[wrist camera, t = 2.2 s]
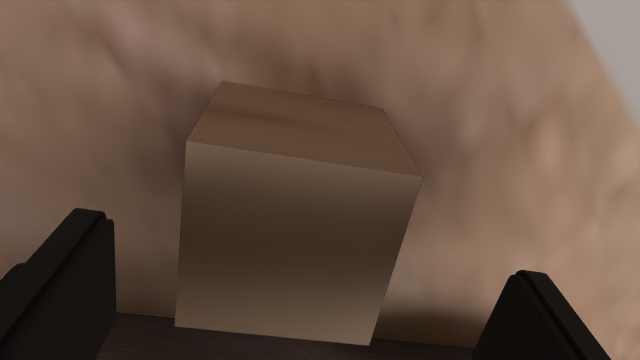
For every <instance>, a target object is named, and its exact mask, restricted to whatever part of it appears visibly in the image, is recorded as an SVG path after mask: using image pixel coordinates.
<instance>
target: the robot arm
mask: <svg viewBox="0 0 640 360" xmlns="http://www.w3.org/2000/svg"><path fill="white" fill-rule="evenodd" d="M115 315H116V286H115V244H114V222H113V220H112V219H106V215H105V213H104V212H102V211H95V210H88V209H80V208H75V209H74V210H73V211H72V212H71V213H70V214H69V215H68V216H67V217H66V218H65V219H64V221H63V222H62V223H61V224H60V225H59V226H58V227H57V228H56V229H55V231H54V232H53V233H52V234H51V235H50V236H49V237H48V238H47V240H46V241H45V242H44V243H43V244H42V245H41V246H40V247H39V248H38V250H37V251H36V252H35V253H34V254H33V255H32V256H31V257H30V259H29V260H28V261H27V262H26V263H20V264H17V265H16V266H14V267H13V268H12V269H11V270H10V271H9V272H8V273H7V274H6V275H5V276H4V277H3V278H2V279H1V281H0V360H95V359H96V357H97V355H98V353H99V351H100V349H101V347H102V345H103V343H104V342H105V340H106V338H107V336H108V334H109V332H110V330H111V328H112V326H113V323H114V320H115ZM472 360H611V359H610V357H609V356H608V355H607V353H606V352H605V351H604V349H603V348H602V347H601V345H600V344H599V343H598V342H597V340H596V339H595V338H594V336H593V335H592V334H591V332H590V331H589V330H588V328H587V327H586V326H585V324H584V323H583V322H582V320H581V319H580V318H579V316H578V315H577V314H576V312H575V311H574V310H573V308H572V307H571V306H570V304H569V303H568V302H567V300H566V299H565V298H564V296H563V295H562V294H561V292H560V291H559V290H558V288H557V287H556V286H555V284H554V283H553V282H552V280H551V279H550V278H549V276H548V275H546V274H545V273H541V272H534V271H527V270H519V271H518V272H517V273H516V274H515V275H511V276H510V277H509V278H508V280H507V282H506V284H505V286H504V289H503V291H502V293H501V295H500V297H499V299H498V301H497V303H496V305H495V307H494V309H493V311H492V313H491V315H490V318H489V320H488V322H487V324H486V326H485V328H484V330H483V332H482V334H481V336H480V338H479V340H478V342H477V344H476V347H475V349H474V351H473V354H472Z"/></svg>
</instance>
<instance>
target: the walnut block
mask: <svg viewBox="0 0 640 360" xmlns="http://www.w3.org/2000/svg"><path fill="white" fill-rule="evenodd" d="M422 179H423V176H422V174H421V173H420V171H419V169H418V168H417V166H416V164H415V163H414V161H413V159H412V158H411V156H410V154H409V153H408V151H407V149H406V148H405V146H404V144H403V143H402V141H401V139H400V138H399V136H398V134H397V133H396V131H395V129H394V128H393V126H392V124H391V123H390V121H389V119H388V118H387V116H386V114H385V113H384V111H383V109H382V108H376V107H370V106H364V105H358V104H353V103H347V102H341V101H335V100H329V99H323V98H318V97H312V96H306V95H300V94H294V93H288V92H283V91H277V90H271V89H265V88H259V87H253V86H248V85H242V84H236V83H230V82H224V81H221V83H220V85H219V86H218V88H217V90H216V92H215V93H214V95H213V97H212V98H211V100H210V102H209V103H208V105H207V107H206V108H205V110H204V112H203V113H202V115H201V117H200V119H199V120H198V122H197V124H196V125H195V127H194V129H193V130H192V132H191V134H190V135H189V137H188V139H187V140H186V151H185V168H184V184H183V200H182V216H181V232H180V248H179V264H178V280H177V296H176V312H175V327H186V328H196V329H206V330H216V331H226V332H236V333H246V334H257V335H267V336H277V337H287V338H297V339H307V340H317V341H327V342H338V343H348V344H358V345H368V346H369V344H370V341H371V337H372V334H373V331H374V328H375V325H376V322H377V319H378V316H379V313H380V309H381V306H382V303H383V300H384V297H385V294H386V291H387V288H388V285H389V281H390V278H391V275H392V272H393V269H394V266H395V263H396V260H397V257H398V253H399V250H400V247H401V244H402V241H403V238H404V235H405V232H406V229H407V225H408V222H409V219H410V216H411V213H412V210H413V207H414V204H415V201H416V197H417V194H418V191H419V188H420V185H421V182H422Z"/></svg>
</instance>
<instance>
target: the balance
mask: <svg viewBox="0 0 640 360" xmlns="http://www.w3.org/2000/svg"><path fill="white" fill-rule="evenodd" d="M473 351H474V349H468V348H458V347H448V346H438V345H428V344H418V343H408V342H398V341H388V340H379V339H371V341H370V344H369V346H368V345H358V344H348V343H338V342H327V341H317V340H307V339H297V338H287V337H277V336H267V335H257V334H246V333H236V332H226V331H216V330H206V329H196V328H186V327H175V319H171V318H161V317H151V316H141V315H131V314H121V313H116V315H115V320H114V323H113V326H112V328H111V330H110V332H109V334H108V336H107V338H106V340H105V342H104V343H103V345H102V347H101V349H100V351H99V353H98V355H97V357H96V359H95V360H472V354H473Z"/></svg>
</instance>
